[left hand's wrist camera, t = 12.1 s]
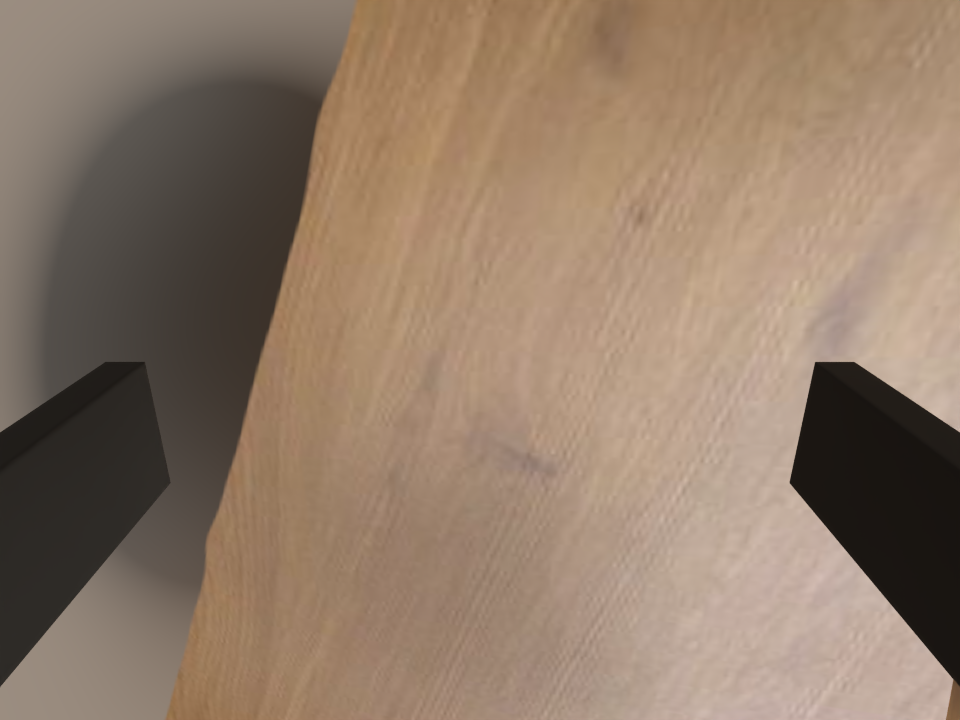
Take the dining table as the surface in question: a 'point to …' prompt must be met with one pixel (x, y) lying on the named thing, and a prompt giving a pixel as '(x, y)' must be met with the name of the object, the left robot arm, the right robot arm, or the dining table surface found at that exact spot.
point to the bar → (954, 703)
